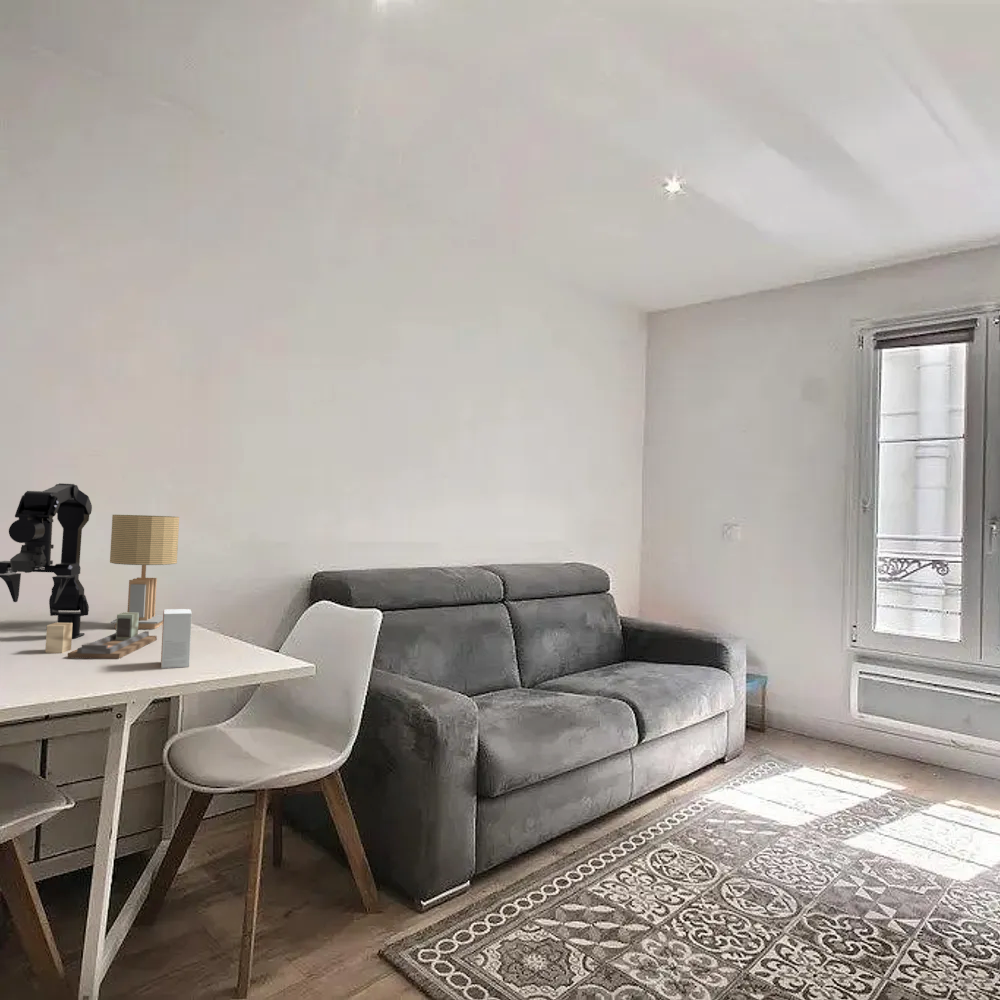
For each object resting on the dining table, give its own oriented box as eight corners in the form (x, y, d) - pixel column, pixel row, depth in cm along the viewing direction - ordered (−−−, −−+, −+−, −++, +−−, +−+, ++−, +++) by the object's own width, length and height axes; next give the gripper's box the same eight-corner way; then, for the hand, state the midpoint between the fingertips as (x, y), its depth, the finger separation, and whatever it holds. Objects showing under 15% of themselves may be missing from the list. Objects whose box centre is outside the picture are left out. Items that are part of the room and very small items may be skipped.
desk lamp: (166, 630, 225) (172, 517, 226) (97, 630, 221) (103, 514, 222) (180, 621, 244) (185, 516, 245) (116, 621, 240) (122, 514, 241)
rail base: (112, 639, 207) (113, 610, 207) (156, 639, 208) (157, 611, 209) (67, 658, 179) (69, 624, 179) (119, 658, 181) (120, 625, 181)
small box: (160, 661, 179) (163, 609, 179) (188, 660, 182) (191, 608, 182) (160, 668, 172) (163, 613, 172) (189, 667, 174) (192, 612, 175)
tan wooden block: (55, 649, 190) (56, 622, 190) (71, 649, 190) (73, 622, 190) (45, 653, 184) (46, 625, 184) (62, 653, 185) (63, 625, 185)
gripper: (-21, 541, 174) (-24, 606, 174) (62, 543, 176) (58, 608, 176) (5, 538, 185) (2, 600, 185) (82, 541, 187) (79, 602, 187)
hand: (34, 602), depth 183 cm, fingers open, 9 cm apart
